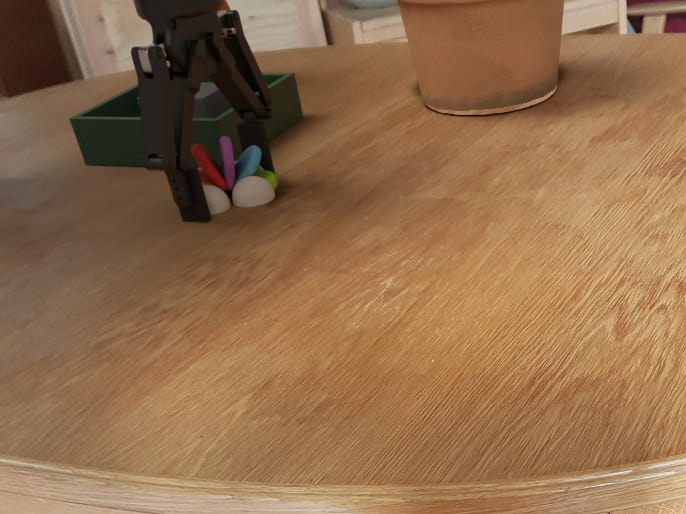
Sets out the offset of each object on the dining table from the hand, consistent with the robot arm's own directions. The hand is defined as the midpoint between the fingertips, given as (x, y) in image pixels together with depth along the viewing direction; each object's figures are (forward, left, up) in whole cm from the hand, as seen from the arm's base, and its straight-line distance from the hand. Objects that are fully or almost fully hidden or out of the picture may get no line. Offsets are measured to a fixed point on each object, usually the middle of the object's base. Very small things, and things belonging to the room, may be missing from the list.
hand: (234, 210), depth 93 cm
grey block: (-17, +20, 0) cm, 26 cm away
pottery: (+14, +38, 0) cm, 40 cm away
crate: (-17, +20, 0) cm, 26 cm away
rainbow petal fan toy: (0, 0, 0) cm, 0 cm away
